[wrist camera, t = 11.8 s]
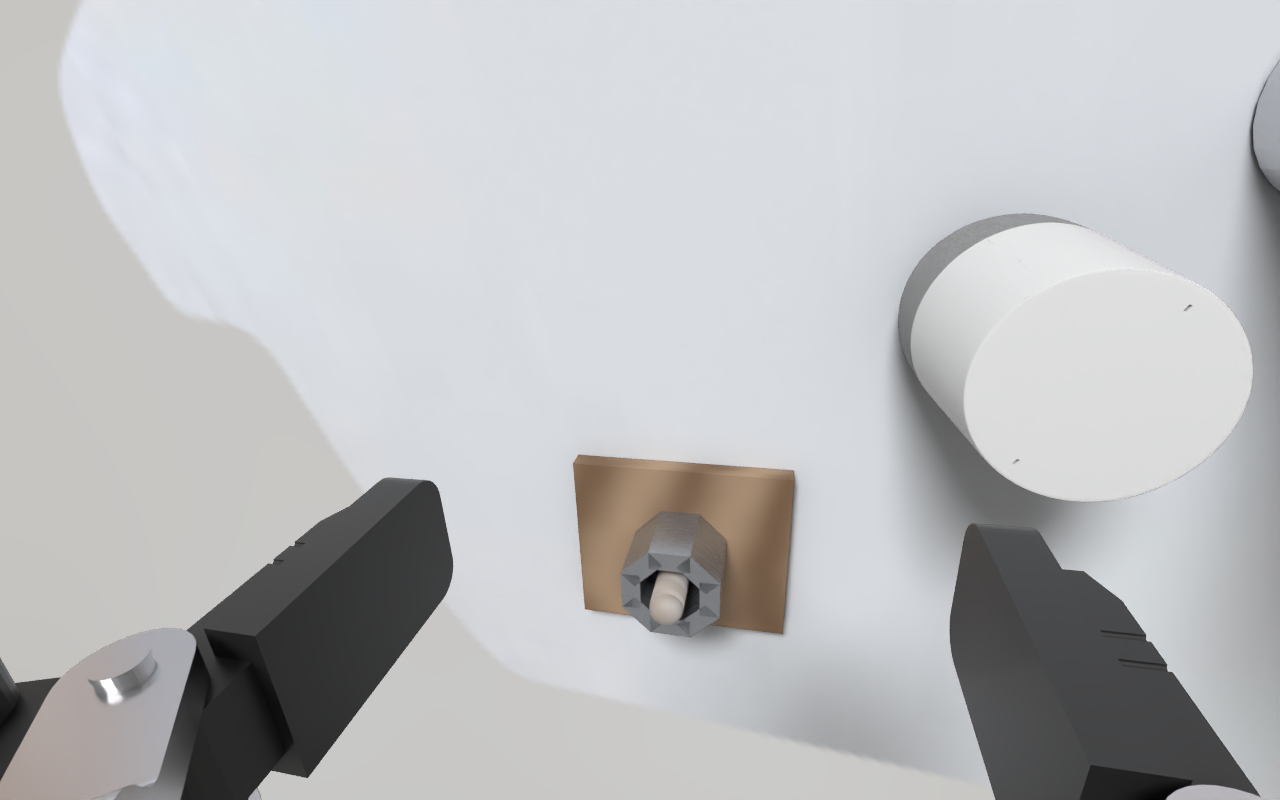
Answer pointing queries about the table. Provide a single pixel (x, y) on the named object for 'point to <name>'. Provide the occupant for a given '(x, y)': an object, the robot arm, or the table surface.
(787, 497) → the post stand
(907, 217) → the table surface
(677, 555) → the ring
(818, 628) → the table surface
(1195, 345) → the smart speaker
